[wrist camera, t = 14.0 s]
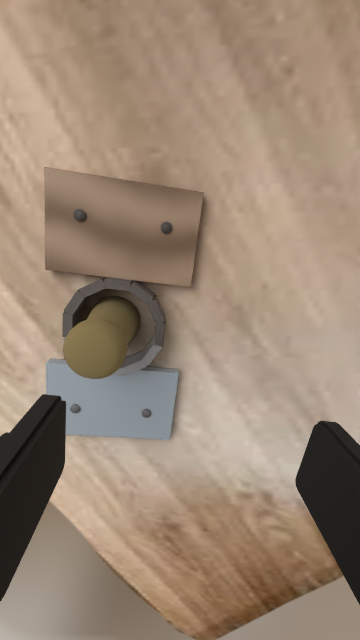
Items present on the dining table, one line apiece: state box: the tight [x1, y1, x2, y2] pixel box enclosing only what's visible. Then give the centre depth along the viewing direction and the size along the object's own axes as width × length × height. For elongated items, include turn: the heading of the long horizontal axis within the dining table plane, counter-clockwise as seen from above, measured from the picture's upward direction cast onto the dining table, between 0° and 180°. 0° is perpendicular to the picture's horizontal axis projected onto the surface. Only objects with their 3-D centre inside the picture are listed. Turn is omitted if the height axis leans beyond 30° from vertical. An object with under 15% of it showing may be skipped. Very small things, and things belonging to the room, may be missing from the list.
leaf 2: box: [46, 336, 179, 440], centre depth 31 cm, size 14×16×3 cm
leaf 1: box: [45, 167, 204, 346], centre depth 27 cm, size 17×16×3 cm
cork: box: [63, 296, 140, 379], centre depth 25 cm, size 6×6×11 cm
